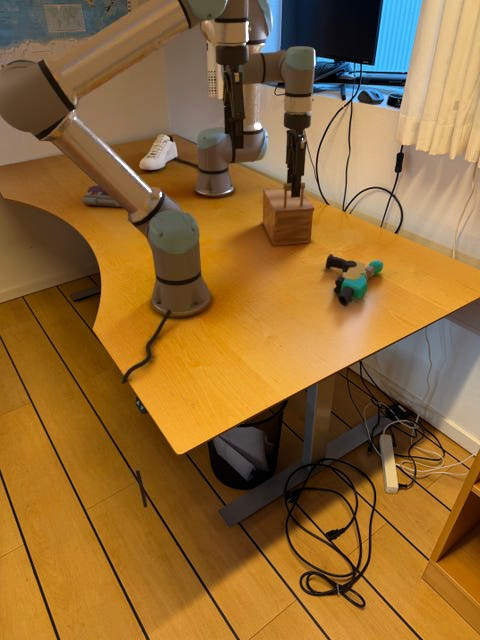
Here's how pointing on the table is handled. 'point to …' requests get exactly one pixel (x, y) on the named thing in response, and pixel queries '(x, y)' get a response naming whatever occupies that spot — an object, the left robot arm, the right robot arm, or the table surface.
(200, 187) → the right robot arm
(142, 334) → the table surface
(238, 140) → the left robot arm
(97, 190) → the toy gun
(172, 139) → the sneaker
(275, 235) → the chest
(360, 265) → the toy gun
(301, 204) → the lid
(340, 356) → the table surface
